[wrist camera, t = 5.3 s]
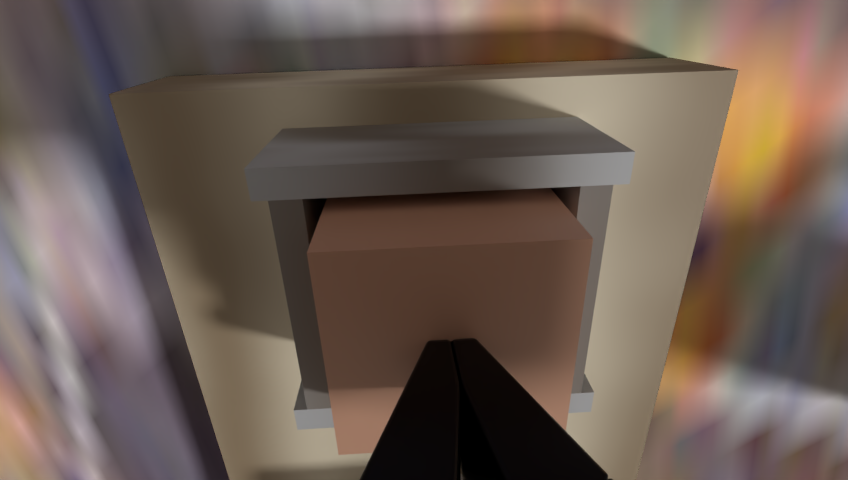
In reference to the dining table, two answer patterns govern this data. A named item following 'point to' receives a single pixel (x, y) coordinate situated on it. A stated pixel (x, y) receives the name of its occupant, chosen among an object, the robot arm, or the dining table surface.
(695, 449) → the dining table surface
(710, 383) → the dining table surface
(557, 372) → the salmon brown square block
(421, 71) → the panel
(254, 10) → the dining table surface
